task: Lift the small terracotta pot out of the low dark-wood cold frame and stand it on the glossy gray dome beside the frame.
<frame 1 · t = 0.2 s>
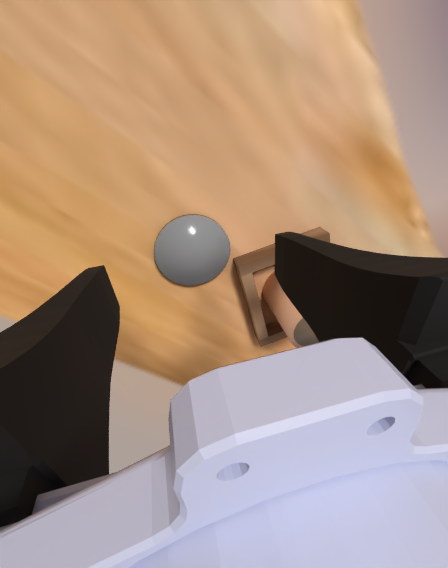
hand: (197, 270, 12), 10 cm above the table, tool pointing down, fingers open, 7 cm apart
glossy gray dome: (192, 250, 22), on the table
clay pot: (298, 305, 24), in the cold frame
cold frame: (284, 287, 26), on the table
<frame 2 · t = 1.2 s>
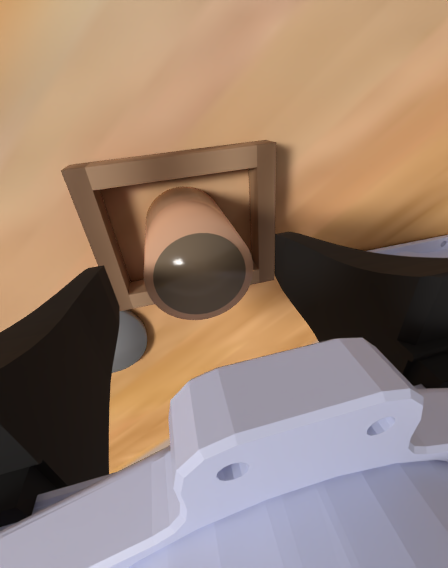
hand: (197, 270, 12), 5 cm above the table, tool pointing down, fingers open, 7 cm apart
glossy gray dome: (102, 338, 19), on the table
clay pot: (191, 247, 14), in the cold frame
cold frame: (185, 226, 16), on the table
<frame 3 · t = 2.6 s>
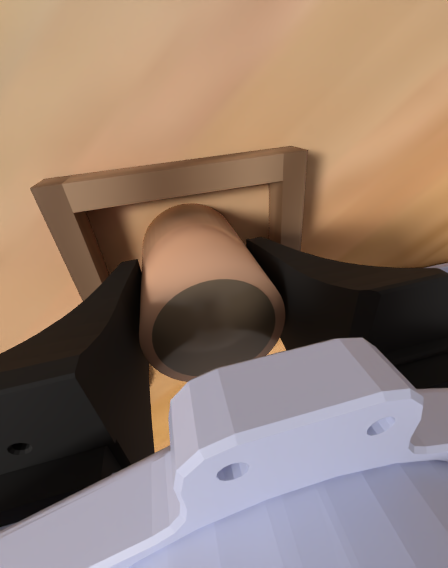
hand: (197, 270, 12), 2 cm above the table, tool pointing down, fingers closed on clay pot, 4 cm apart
clay pot: (200, 282, 11), in the cold frame, touching gripper
cold frame: (190, 250, 13), on the table
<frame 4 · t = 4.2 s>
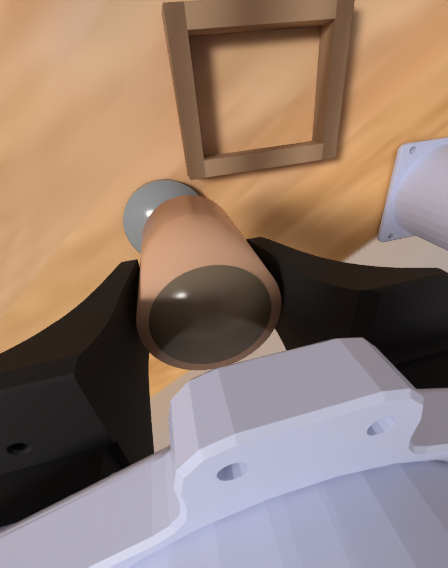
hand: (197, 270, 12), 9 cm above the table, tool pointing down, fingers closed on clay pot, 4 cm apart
glossy gray dome: (167, 222, 20), on the table
clay pot: (198, 272, 11), point 10 cm above the table, touching gripper
cold frame: (256, 95, 17), on the table
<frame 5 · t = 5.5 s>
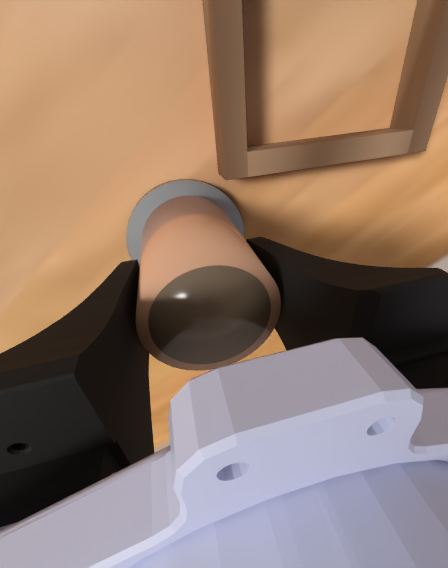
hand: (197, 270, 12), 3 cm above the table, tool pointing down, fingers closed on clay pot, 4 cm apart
glossy gray dome: (187, 238, 14), on the table
clay pot: (198, 272, 11), point 4 cm above the table, touching gripper
cold frame: (324, 57, 12), on the table
when the fingers open (3 cm above the table, at t = 6.3 s): clay pot stays where it is, resting on glossy gray dome.
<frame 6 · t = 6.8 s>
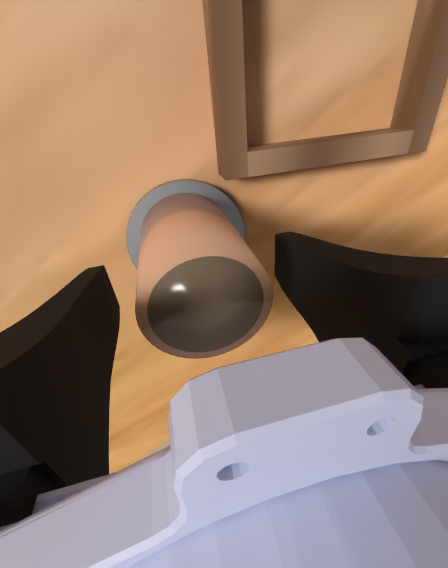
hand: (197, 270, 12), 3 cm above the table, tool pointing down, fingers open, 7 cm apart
glossy gray dome: (187, 238, 14), on the table
clay pot: (194, 266, 11), on the glossy gray dome
cold frame: (324, 57, 12), on the table
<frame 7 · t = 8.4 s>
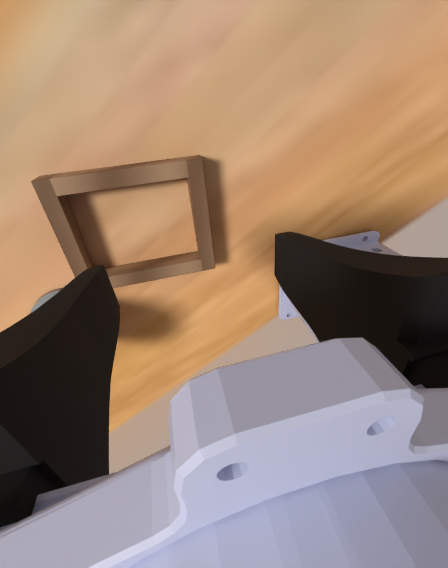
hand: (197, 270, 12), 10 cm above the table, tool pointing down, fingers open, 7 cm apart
cold frame: (138, 224, 20), on the table
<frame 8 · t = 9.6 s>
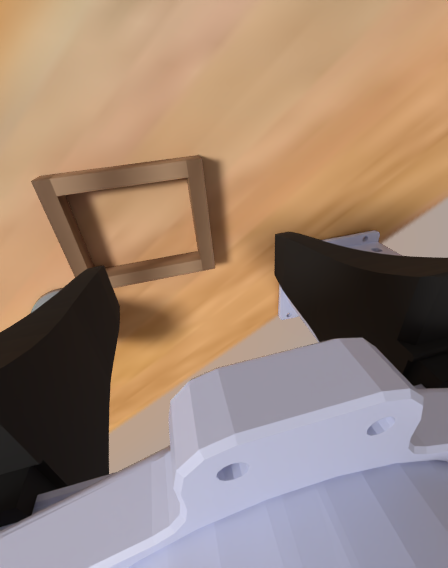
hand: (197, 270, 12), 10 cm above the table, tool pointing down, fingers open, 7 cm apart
cold frame: (138, 224, 20), on the table
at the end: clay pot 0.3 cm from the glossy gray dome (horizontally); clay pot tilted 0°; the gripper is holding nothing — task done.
